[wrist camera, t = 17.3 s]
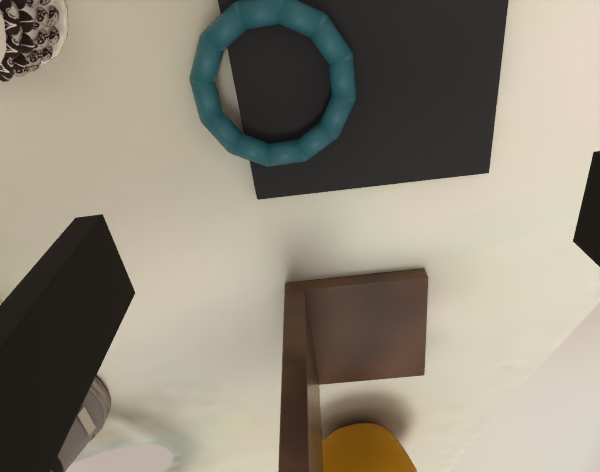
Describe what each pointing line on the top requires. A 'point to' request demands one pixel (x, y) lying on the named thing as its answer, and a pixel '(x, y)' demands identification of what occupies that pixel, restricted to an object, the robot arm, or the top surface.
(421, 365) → the hook board
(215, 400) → the top surface
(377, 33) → the mat
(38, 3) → the decorative candle
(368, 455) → the apple
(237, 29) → the ring
